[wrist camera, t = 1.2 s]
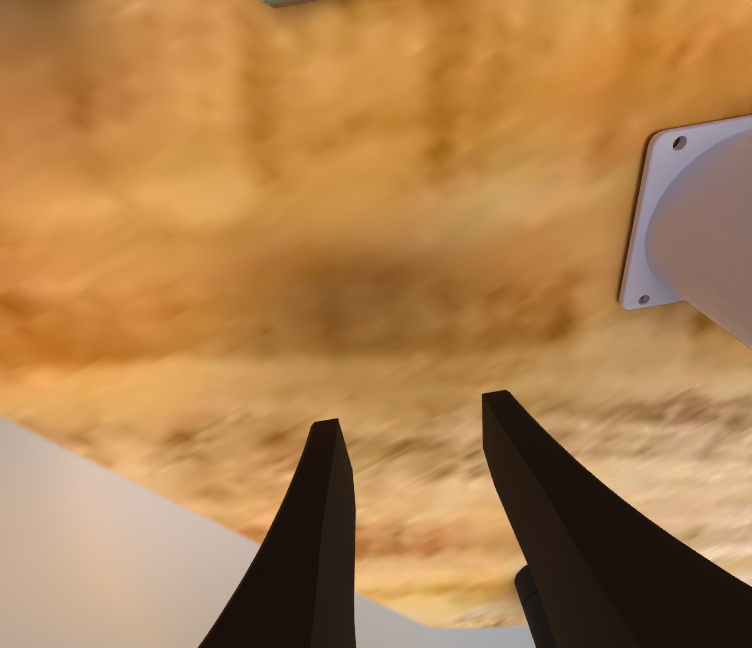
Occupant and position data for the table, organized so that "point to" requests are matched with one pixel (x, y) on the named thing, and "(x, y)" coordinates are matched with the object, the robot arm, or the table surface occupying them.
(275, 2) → the u-shaped frame
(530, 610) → the black water bottle
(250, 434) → the table surface
